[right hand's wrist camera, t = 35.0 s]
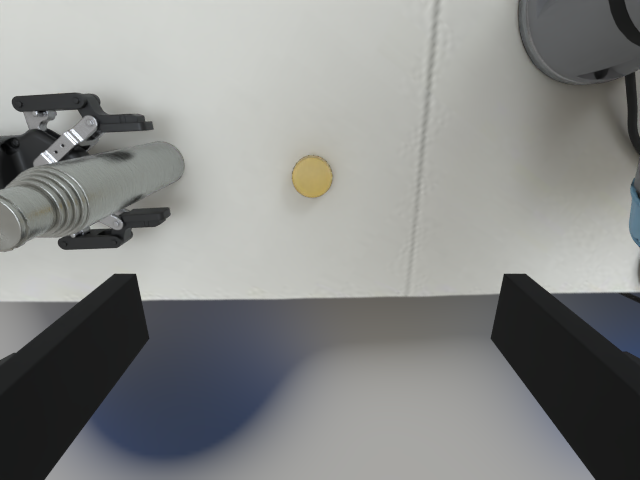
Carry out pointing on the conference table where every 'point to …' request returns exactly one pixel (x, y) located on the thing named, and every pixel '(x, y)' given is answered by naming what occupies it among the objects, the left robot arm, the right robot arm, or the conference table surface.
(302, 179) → the cap
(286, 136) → the conference table surface
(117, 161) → the bottle
